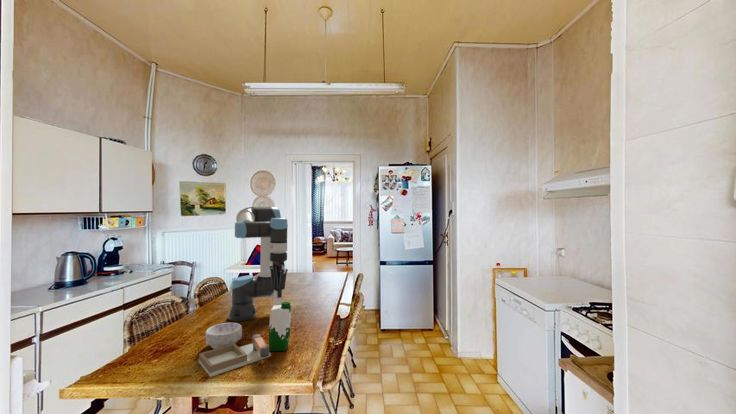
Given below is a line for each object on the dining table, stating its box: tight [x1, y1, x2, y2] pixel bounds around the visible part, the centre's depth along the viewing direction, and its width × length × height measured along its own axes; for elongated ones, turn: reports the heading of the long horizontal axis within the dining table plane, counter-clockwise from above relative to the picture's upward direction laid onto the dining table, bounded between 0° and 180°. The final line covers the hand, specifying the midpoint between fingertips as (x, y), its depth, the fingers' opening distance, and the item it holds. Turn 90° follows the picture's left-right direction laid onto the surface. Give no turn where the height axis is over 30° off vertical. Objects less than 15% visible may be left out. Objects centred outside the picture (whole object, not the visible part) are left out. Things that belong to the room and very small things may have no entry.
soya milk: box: [268, 301, 292, 352], centre depth 139 cm, size 9×9×20 cm
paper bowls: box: [205, 322, 243, 350], centre depth 141 cm, size 15×15×8 cm
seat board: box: [198, 343, 272, 378], centre depth 128 cm, size 15×24×4 cm, turn 134°
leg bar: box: [251, 333, 270, 358], centre depth 128 cm, size 17×4×3 cm, turn 33°
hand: (277, 304), depth 138 cm, fingers closed
